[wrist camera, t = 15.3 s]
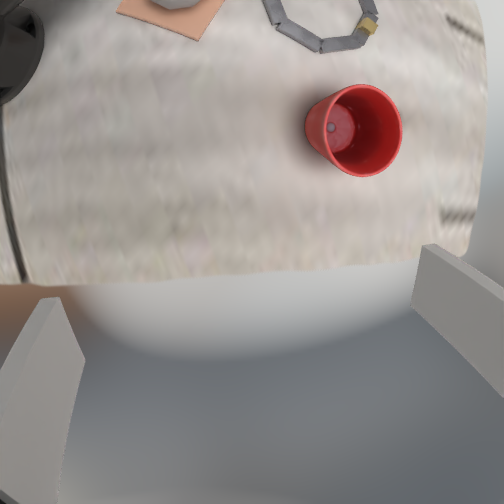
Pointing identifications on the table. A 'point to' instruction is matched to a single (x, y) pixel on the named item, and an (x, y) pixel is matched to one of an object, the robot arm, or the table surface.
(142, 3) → the coaster
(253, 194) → the table surface
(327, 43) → the collar
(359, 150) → the flower pot
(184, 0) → the potion bottle
